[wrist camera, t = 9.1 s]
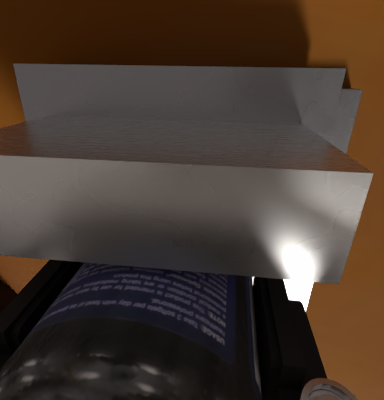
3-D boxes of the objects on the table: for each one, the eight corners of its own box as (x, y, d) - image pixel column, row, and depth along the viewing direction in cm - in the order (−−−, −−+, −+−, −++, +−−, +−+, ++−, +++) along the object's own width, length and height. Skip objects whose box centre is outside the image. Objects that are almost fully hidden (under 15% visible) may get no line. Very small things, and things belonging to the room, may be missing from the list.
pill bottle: (96, 225, 14) (-286, 649, 4) (193, 152, 11) (-121, 737, 1) (177, 307, 15) (63, 764, 5) (276, 257, 13) (414, 895, 3)
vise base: (356, 69, 11) (595, 68, 4) (283, 370, 19) (319, 552, 12) (28, 64, 12) (-245, 57, 5) (88, 347, 20) (13, 499, 13)
